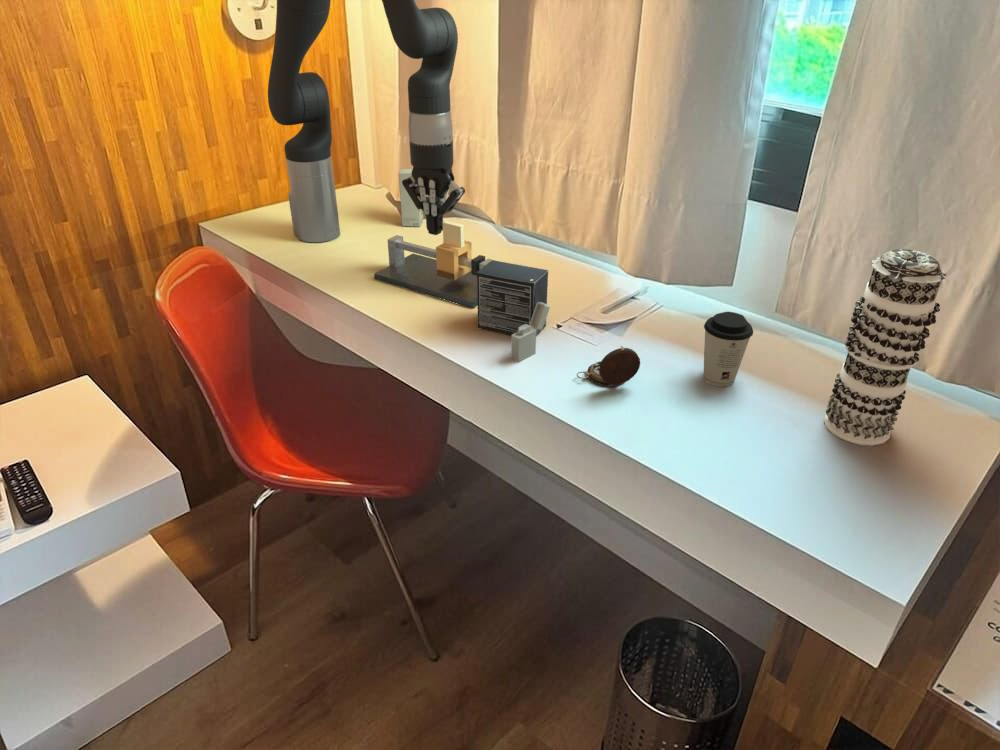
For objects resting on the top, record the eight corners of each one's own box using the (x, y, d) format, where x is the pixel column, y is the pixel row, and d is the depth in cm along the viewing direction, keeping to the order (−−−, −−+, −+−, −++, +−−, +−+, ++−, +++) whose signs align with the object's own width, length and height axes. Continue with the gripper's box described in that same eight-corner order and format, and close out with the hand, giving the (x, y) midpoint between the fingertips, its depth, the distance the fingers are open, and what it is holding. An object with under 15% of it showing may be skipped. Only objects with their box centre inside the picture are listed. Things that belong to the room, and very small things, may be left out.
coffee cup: (734, 395, 106) (747, 335, 100) (688, 382, 109) (698, 323, 103) (748, 374, 111) (761, 316, 105) (703, 362, 114) (714, 304, 108)
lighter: (518, 362, 113) (519, 317, 109) (510, 358, 114) (511, 313, 110) (548, 346, 118) (550, 302, 113) (540, 343, 119) (542, 299, 114)
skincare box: (420, 227, 164) (417, 173, 157) (401, 227, 164) (398, 173, 157) (424, 217, 169) (421, 165, 163) (405, 217, 169) (402, 165, 163)
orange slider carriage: (437, 275, 135) (435, 226, 130) (454, 265, 139) (453, 217, 134) (454, 280, 133) (453, 230, 128) (471, 270, 137) (471, 221, 132)
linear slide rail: (374, 279, 140) (371, 245, 136) (413, 258, 148) (411, 226, 145) (472, 308, 129) (472, 272, 125) (508, 284, 138) (508, 250, 134)
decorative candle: (907, 445, 96) (974, 271, 82) (840, 448, 95) (896, 273, 82) (872, 406, 103) (927, 241, 90) (809, 409, 103) (856, 243, 90)
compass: (617, 363, 113) (622, 322, 109) (638, 390, 107) (643, 347, 103) (569, 370, 112) (572, 328, 108) (587, 397, 105) (591, 354, 101)
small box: (548, 325, 124) (550, 268, 119) (533, 341, 119) (535, 283, 113) (492, 313, 128) (492, 257, 122) (476, 328, 123) (475, 271, 117)
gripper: (387, 136, 125) (394, 232, 134) (449, 148, 119) (452, 247, 128) (414, 128, 130) (419, 220, 140) (474, 138, 124) (476, 234, 134)
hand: (435, 233), depth 134 cm, fingers closed
